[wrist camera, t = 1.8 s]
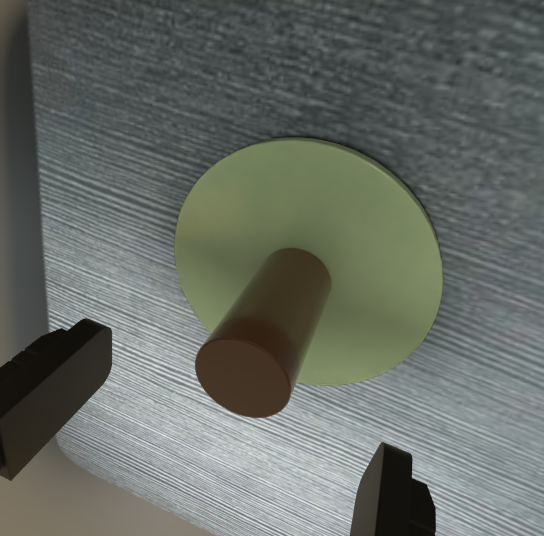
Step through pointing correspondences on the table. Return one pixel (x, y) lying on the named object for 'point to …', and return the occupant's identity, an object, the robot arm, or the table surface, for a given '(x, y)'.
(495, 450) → the table surface
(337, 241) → the lid
